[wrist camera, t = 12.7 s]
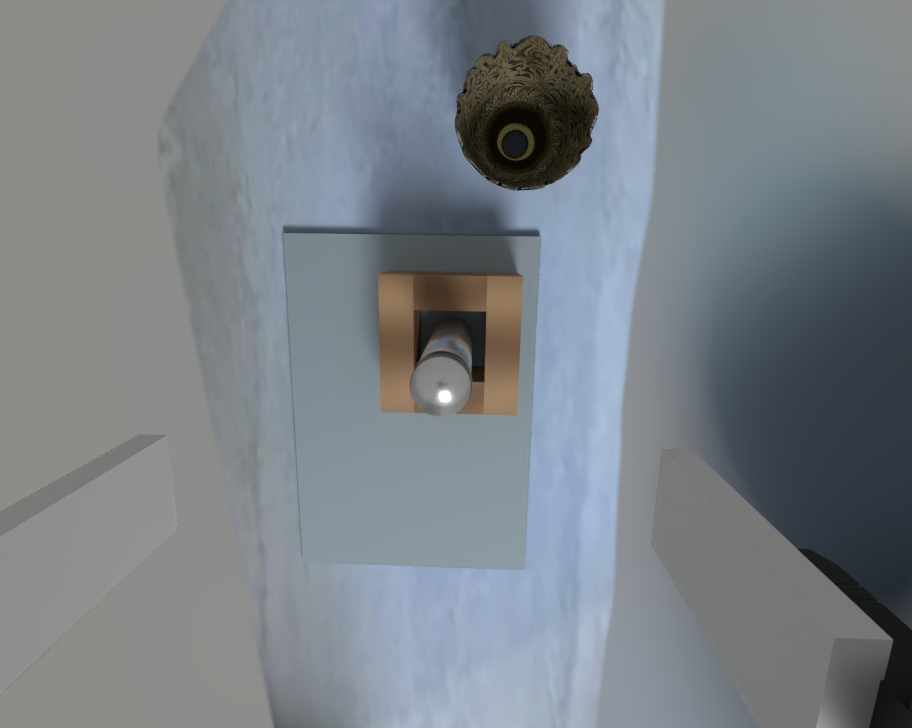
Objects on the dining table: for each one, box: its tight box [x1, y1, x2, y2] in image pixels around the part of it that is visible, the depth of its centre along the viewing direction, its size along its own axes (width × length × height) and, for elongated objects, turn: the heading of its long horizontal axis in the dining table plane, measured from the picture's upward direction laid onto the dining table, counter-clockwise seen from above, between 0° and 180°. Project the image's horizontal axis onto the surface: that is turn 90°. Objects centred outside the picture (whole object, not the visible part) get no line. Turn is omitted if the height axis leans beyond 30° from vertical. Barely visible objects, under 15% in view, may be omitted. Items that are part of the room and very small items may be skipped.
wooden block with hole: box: [378, 271, 523, 416], centre depth 35 cm, size 9×9×4 cm
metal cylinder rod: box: [410, 316, 472, 417], centre depth 30 cm, size 3×3×14 cm
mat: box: [283, 233, 541, 570], centre depth 39 cm, size 26×18×1 cm
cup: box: [455, 36, 599, 190], centre depth 31 cm, size 8×7×8 cm
